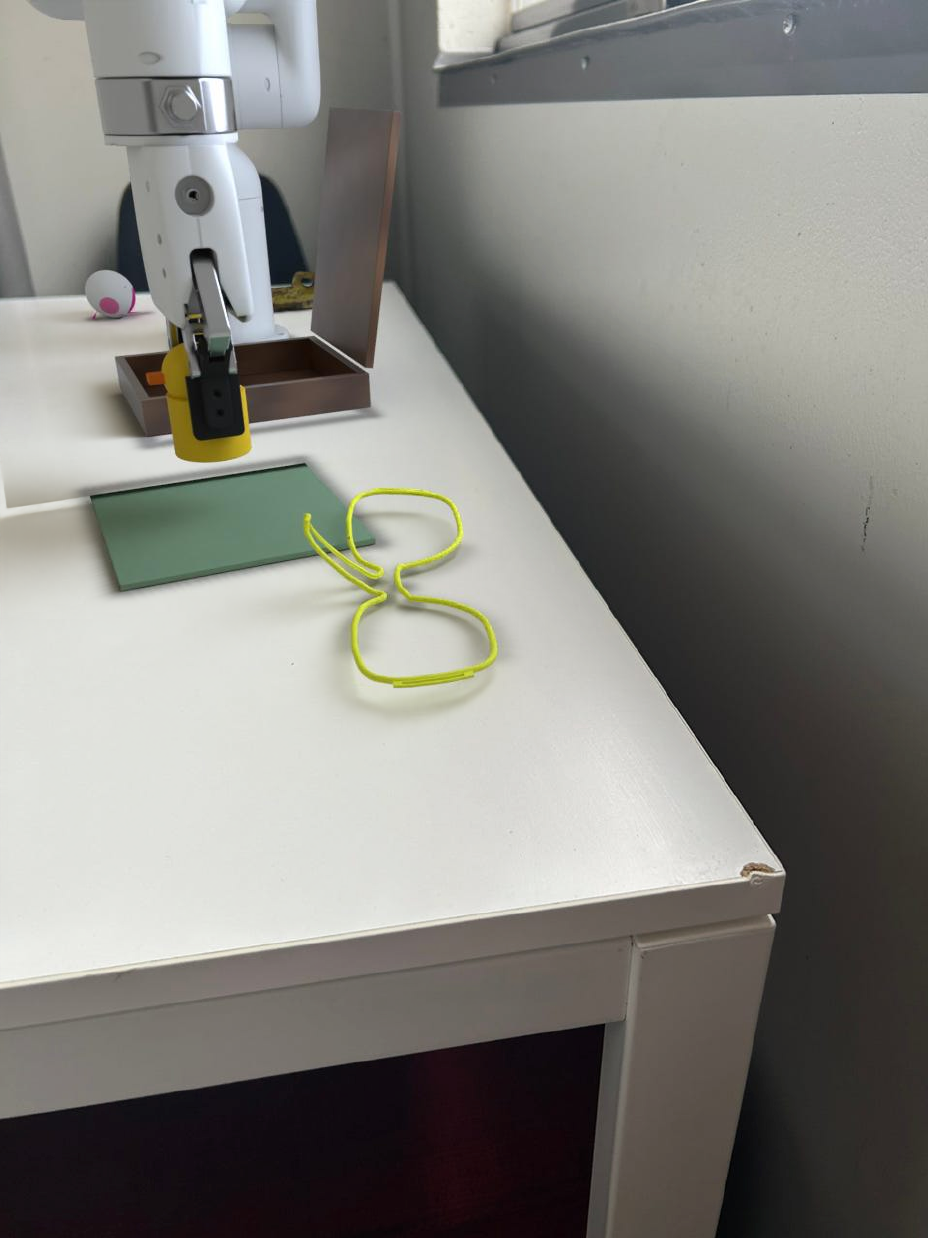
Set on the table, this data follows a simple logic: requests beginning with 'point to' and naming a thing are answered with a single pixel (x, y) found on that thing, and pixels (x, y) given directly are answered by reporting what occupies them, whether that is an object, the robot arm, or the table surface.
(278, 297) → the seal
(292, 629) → the table surface
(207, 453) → the duck
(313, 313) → the lid
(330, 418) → the table surface
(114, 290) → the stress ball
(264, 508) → the mat
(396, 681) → the glasses
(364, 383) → the chest
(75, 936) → the table surface
